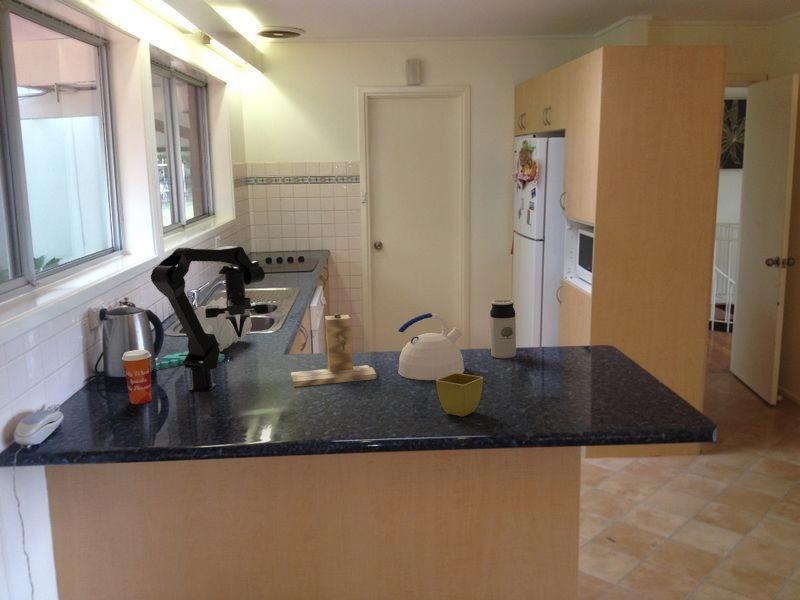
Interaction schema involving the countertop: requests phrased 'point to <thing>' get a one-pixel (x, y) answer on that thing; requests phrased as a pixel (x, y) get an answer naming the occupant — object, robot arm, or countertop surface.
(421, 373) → the kettle
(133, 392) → the paper cup
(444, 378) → the flower pot
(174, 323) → the countertop surface
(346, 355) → the tan wooden tall block
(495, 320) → the travel mug
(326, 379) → the board
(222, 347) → the spiral staircase
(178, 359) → the alien figure
